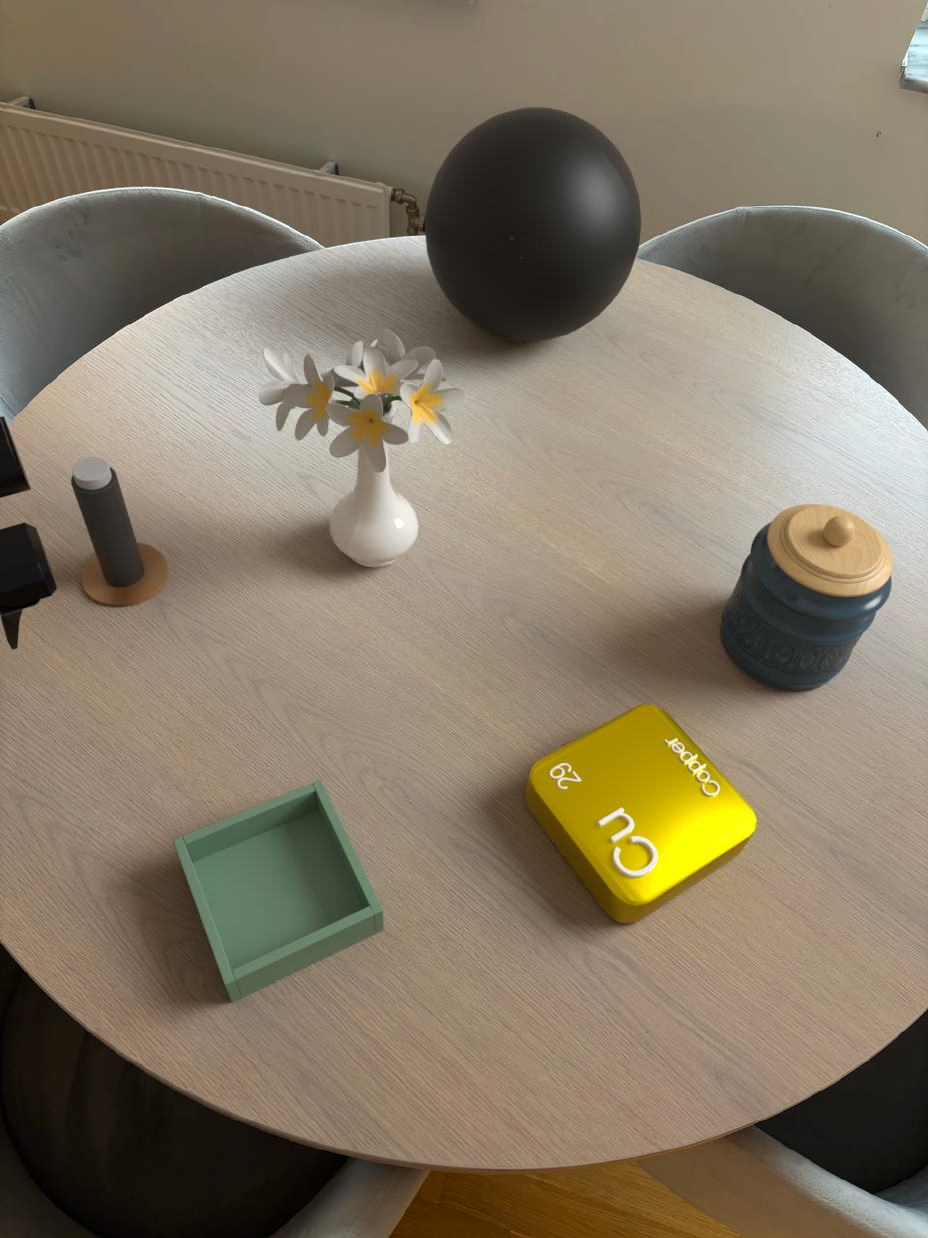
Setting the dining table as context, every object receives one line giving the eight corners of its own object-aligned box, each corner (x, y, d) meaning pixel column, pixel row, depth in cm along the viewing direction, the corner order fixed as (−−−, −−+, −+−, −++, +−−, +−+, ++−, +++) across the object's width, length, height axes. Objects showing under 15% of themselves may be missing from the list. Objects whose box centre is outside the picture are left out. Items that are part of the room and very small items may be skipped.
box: (231, 1002, 72) (224, 985, 68) (181, 861, 78) (172, 839, 75) (383, 930, 76) (383, 910, 73) (323, 802, 83) (320, 779, 79)
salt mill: (138, 589, 96) (105, 485, 85) (98, 585, 96) (60, 481, 85) (149, 559, 98) (119, 455, 87) (110, 556, 98) (75, 451, 87)
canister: (836, 712, 92) (915, 595, 78) (705, 669, 94) (759, 548, 80) (849, 616, 100) (923, 494, 86) (728, 579, 102) (782, 454, 88)
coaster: (93, 617, 94) (92, 615, 93) (72, 559, 98) (71, 556, 98) (178, 590, 96) (178, 587, 96) (154, 535, 101) (153, 532, 101)
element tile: (753, 846, 83) (770, 821, 79) (619, 935, 77) (631, 912, 73) (643, 720, 90) (655, 691, 86) (514, 793, 84) (520, 766, 81)
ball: (414, 268, 136) (419, 65, 115) (597, 267, 139) (634, 70, 118) (430, 386, 120) (439, 174, 99) (637, 382, 123) (689, 177, 102)
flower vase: (289, 502, 105) (266, 303, 86) (455, 511, 106) (470, 315, 86) (273, 591, 97) (243, 394, 78) (452, 600, 98) (468, 407, 78)
